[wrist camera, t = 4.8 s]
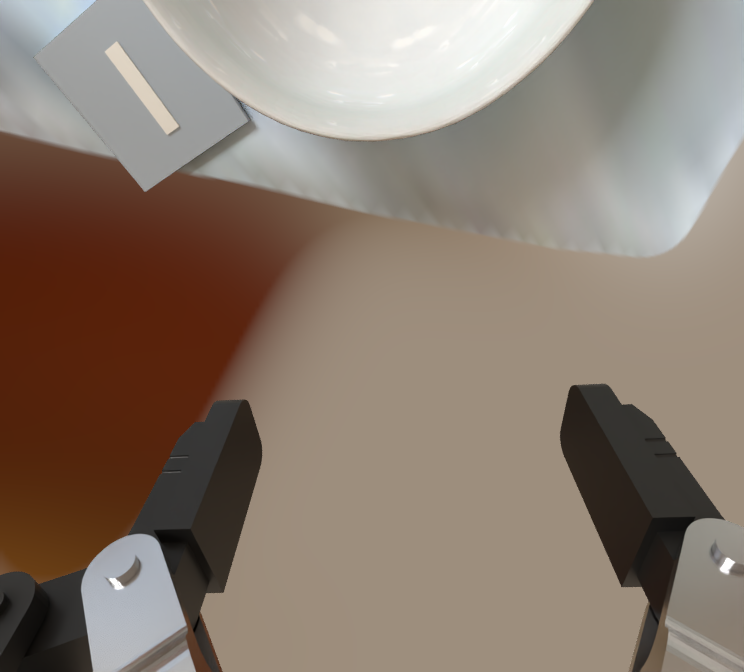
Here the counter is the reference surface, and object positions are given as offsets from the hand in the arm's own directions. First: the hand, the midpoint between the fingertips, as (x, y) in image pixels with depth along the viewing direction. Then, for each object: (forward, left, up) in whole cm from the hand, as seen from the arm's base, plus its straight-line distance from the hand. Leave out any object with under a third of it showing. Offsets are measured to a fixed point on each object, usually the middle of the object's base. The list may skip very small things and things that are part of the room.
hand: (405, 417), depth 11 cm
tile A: (-7, +11, -16) cm, 21 cm away
